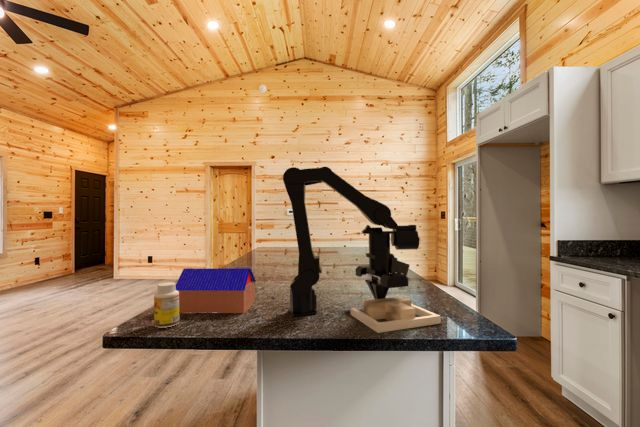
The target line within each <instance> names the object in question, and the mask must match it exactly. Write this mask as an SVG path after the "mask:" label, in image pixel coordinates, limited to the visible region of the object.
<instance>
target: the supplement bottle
mask: <svg viewBox="0 0 640 427" xmlns="http://www.w3.org/2000/svg"><path fill="white" fill-rule="evenodd" d="M176 284H177V283H175V282H170V281H169V282H168V281H167V282H161V283H159V284H157V291H156V292H155V293H154V294H153V305H154V306H153V309H154V310H153V313H154V314H153V315H154V317H153V318H154V322H153V324H154V327H155V328H156V327H158V328H157V329H159V328H166V329H168V328H167V327H171V328H173V327H172V326H174V327H176V326H178V325H179V323H180V313H179V291H177V290H175V289H176ZM177 324H178V325H177ZM175 325H176V326H175Z"/></svg>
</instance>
